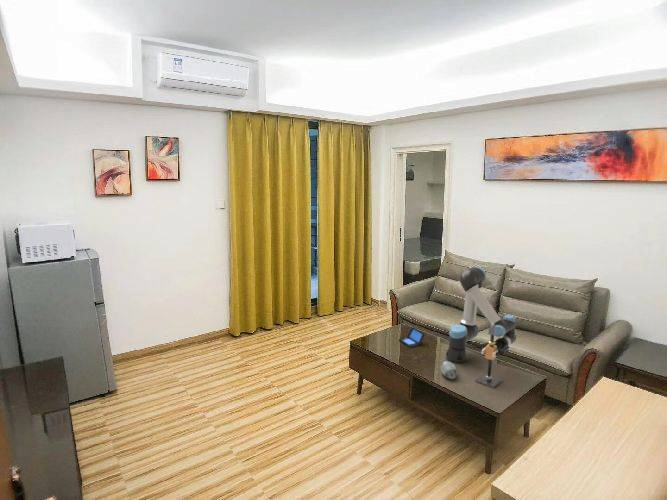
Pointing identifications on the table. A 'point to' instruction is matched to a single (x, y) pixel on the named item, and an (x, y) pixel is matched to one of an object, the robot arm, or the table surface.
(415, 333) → the handheld game console
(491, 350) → the sleeve
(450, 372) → the spool
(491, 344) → the stand
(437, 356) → the table surface
